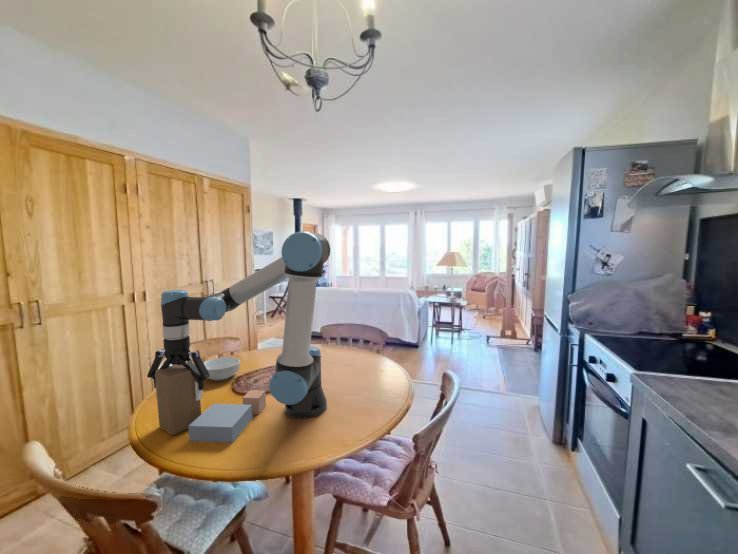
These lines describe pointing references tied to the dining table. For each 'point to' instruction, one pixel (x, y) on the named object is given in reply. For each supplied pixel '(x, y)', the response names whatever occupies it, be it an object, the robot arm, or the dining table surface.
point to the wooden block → (176, 398)
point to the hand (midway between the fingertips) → (179, 398)
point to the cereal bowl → (222, 367)
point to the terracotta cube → (255, 400)
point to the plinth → (220, 423)
